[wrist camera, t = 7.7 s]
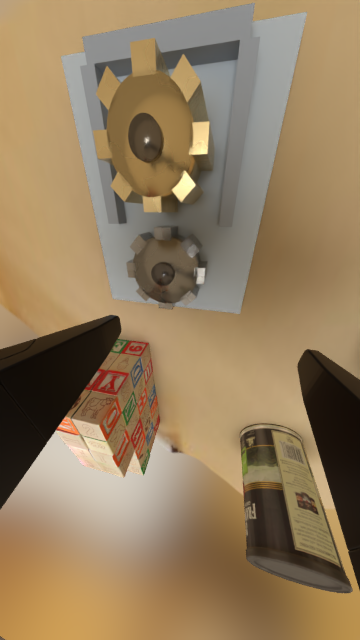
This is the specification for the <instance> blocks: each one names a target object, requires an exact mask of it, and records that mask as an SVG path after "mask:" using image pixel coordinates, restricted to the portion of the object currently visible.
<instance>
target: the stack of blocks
mask: <svg viewBox="0 0 360 640" xmlns="http://www.w3.org/2000/svg"><path fill="white" fill-rule="evenodd" d="M159 423H160V420H159V411H158V405H157V396H156V392H155V385H154V379H153V369H152V362H151V354H150V347H149V343H144V342H136V341H127V340H120V339H117V341H116V342H115V344H114V346H113V348H112V350H111V351H110V353H109V355H108V356H107V358H106V360H105V361H104V362H103V364H102V365H101V367H100V368H99V369H98V371H97V372H96V374H95V375H94V377H93V378H92V379H91V381H90V382H89V384H88V385H87V387H86V388H85V389H84V391H83V392H82V394H81V395H80V397H79V398H78V399H77V401H76V402H75V404H74V405H73V406H72V408H71V409H70V411H69V412H68V414H67V415H66V416H65V418H64V419H63V421H62V422H61V424H60V425H59V426H58V428H57V429H56V432H57V434H58V435H59V436H60V438H61V439H62V440H63V442H64V443H65V444H67V445H68V447H69V448H70V449H71V450H72V452H73V453H74V454H75V455H76V456H77V458H78V459H79V461H80V462H81V463H82V464H83V466H86V467H90V468H93V469H97V470H100V471H104V472H107V473H111V474H114V475H117V476H120V477H125V474H126V472H127V471H130V472H133V473H136V474H140V475H144V473H145V470H146V467H147V464H148V461H149V457H150V452H151V449H152V446H153V443H154V439H155V435H156V432H157V429H158V426H159Z"/></svg>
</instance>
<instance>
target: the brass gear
mask: <svg viewBox="0 0 360 640" xmlns="http://www.w3.org/2000/svg"><path fill="white" fill-rule="evenodd" d="M130 49H131V61H132V73H131V74H130V75H129V76H127V77H126V78H125V79H124V80H123V81H122V83H121V82H120V81H119V80H118V78H117V77H116V76H115V75H114V74H113V72H112V71H111V70H110V69H109V68H108V66H106V69H105V71H104V74H103V76H102V79H101V81H100V84H99V87H98V89H97V92H96V95H97V96H98V98H99V99H100V100H101V102H102V103H103V104H104V105H105V107H106V108H107V109H108V110H109V111H108V118H107V129H106V130H93V135H94V140H95V146H96V152H97V157H98V159H99V160H102V161H104V162H107V163H109V164H112V165H114V168H115V170H116V172H117V175H116V176H115V178H114V180H113V182H112V184H111V185H110V186H111V187H112V189H113V190H114V191H115V192H116V193H117V194H118V195H119V196H120V198H121V199H122V200H123V201H124V202H129V203H140V204H143V207H144V212H178V200H180V201H181V202H182V203H186V204H191V205H193V204H194V203H195V202H196V201H197V200H198V199H199V198H200V196H201V195H202V194H203V193H204V191H203V190H202V188H201V187H200V186H199V184H198V183H197V181H198V179H199V177H200V174H201V171H211V170H213V165H214V153H215V146H214V141H213V136H212V131H211V126H210V121H209V119H208V114H207V109H206V104H205V99H204V94H203V90H202V85H201V81H200V79H199V78H198V76H197V74H196V73H195V71H194V70H193V68H192V66H191V65H190V63H189V62H188V60H187V59H186V57H185V55H184V54H183V55H182V57H181V59H180V61H179V62H178V64H177V66H176V68H175V70H174V72H173V73H172V75H170V73H169V71H168V68H167V66H166V63H165V61H164V59H163V56H162V54H161V51H160V49H159V47H158V44H157V42H156V39H155V38H151V39H145V40H140V41H134V42H130Z"/></svg>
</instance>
